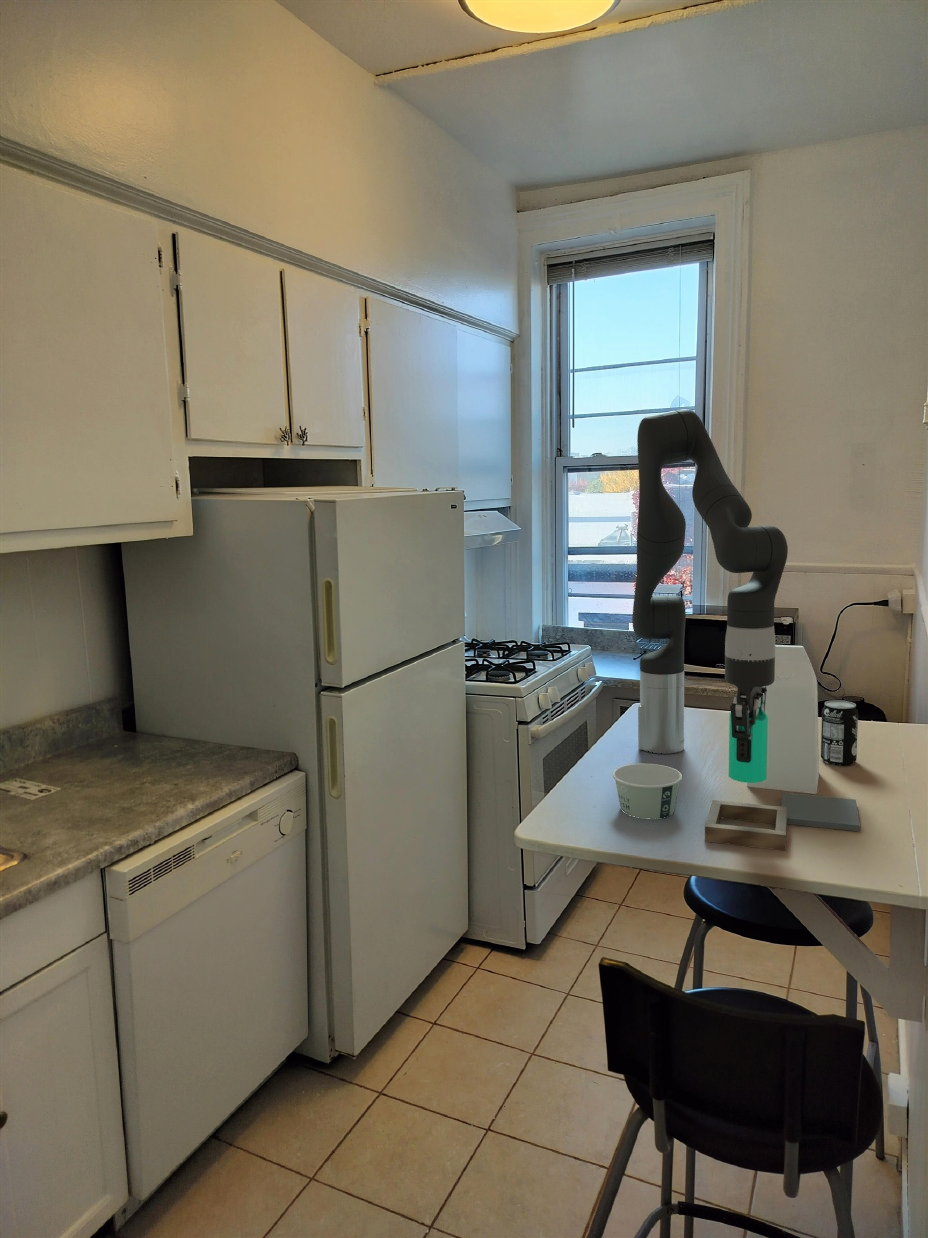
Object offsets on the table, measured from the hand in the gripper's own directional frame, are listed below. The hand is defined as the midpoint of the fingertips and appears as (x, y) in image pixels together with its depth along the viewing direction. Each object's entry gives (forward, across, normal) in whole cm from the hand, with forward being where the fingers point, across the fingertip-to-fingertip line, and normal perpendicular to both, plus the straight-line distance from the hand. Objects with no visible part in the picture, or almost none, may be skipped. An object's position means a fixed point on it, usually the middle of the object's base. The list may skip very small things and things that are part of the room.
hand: (748, 755), depth 136 cm
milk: (+13, +27, 0) cm, 30 cm away
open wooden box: (+13, 0, 0) cm, 13 cm away
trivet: (+13, +12, -9) cm, 20 cm away
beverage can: (+13, +42, -8) cm, 45 cm away
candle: (+4, 0, 0) cm, 4 cm away
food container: (+13, +2, +18) cm, 22 cm away
